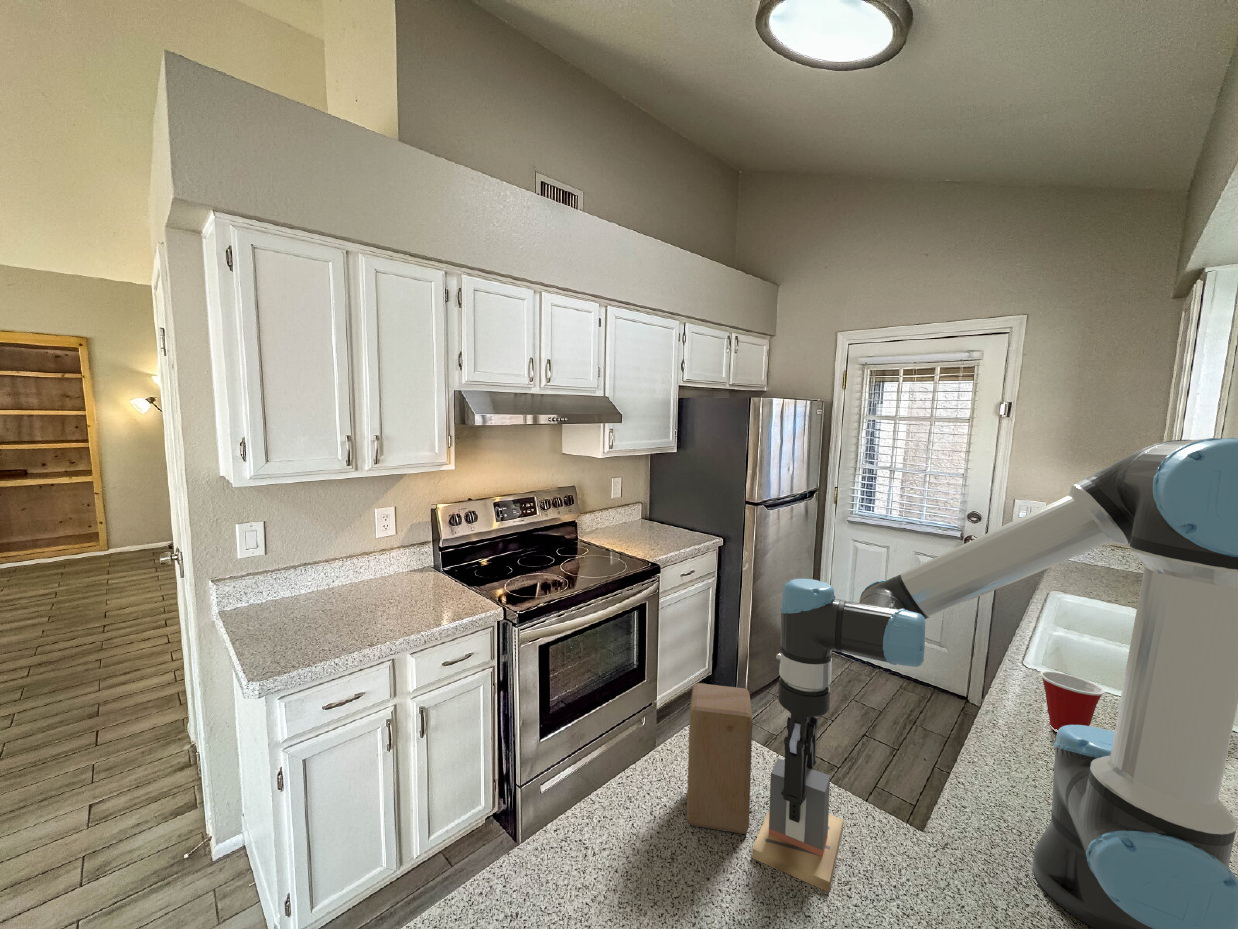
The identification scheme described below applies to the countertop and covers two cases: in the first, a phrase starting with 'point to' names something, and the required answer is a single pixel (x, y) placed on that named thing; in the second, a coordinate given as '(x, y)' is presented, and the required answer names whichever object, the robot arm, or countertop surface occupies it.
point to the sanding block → (815, 809)
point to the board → (800, 855)
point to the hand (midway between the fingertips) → (798, 825)
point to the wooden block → (719, 758)
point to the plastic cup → (1070, 699)
